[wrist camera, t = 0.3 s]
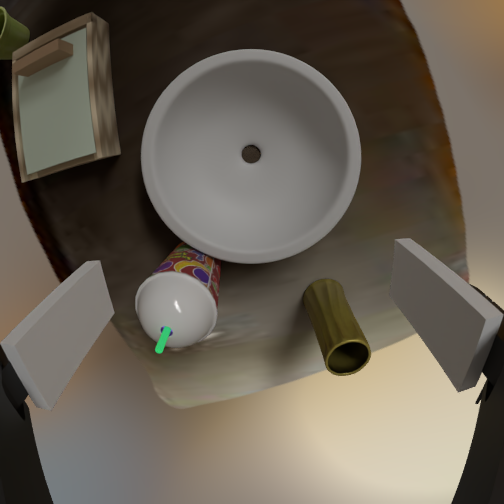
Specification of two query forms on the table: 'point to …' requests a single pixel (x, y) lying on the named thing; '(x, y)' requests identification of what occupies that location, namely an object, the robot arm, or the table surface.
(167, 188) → the soup bowl
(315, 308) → the vase
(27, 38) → the plant pot
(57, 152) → the cover plate
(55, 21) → the table surface
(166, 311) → the smoothie
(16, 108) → the box
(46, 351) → the robot arm
